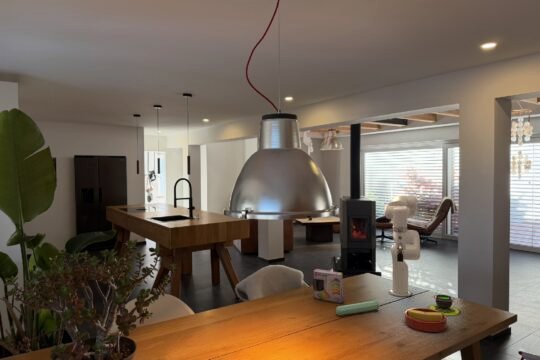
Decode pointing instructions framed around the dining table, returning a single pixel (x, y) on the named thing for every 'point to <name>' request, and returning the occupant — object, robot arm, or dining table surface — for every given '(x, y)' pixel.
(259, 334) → the dining table surface
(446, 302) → the toy cauldron
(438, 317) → the banana
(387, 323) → the dining table surface
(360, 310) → the pale green faceted rod
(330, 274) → the cake pan box
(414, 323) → the bowl
